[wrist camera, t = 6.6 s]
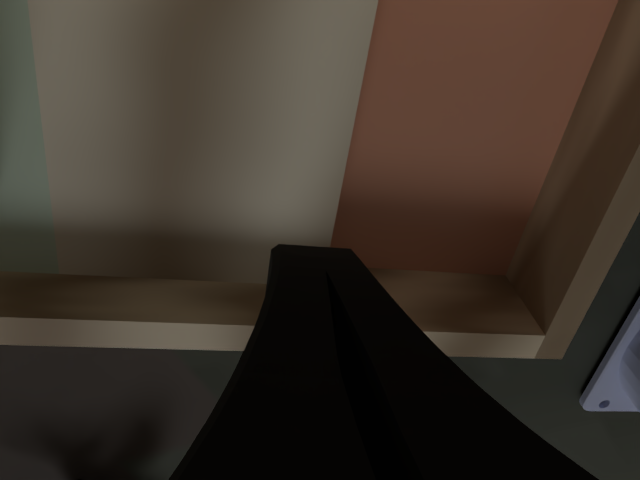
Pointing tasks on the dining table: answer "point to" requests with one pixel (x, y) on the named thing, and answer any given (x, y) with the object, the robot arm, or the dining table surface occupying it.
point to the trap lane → (313, 163)
